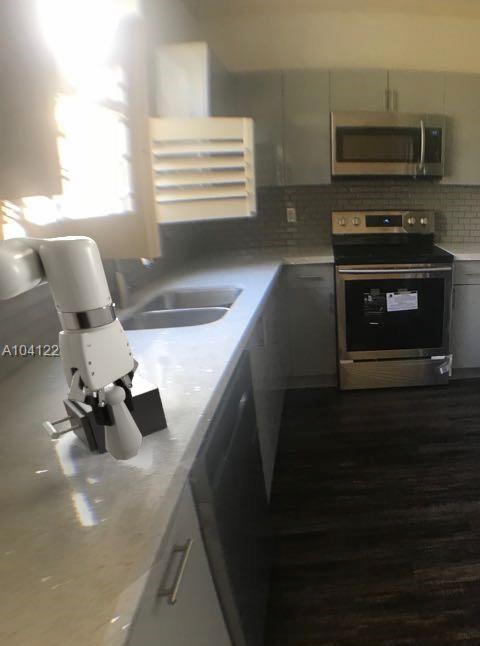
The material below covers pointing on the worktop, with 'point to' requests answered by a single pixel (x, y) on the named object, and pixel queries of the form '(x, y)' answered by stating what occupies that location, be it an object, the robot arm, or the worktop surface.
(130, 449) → the salt shaker
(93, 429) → the dark grey box
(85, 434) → the drawer
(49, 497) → the worktop surface
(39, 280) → the robot arm
